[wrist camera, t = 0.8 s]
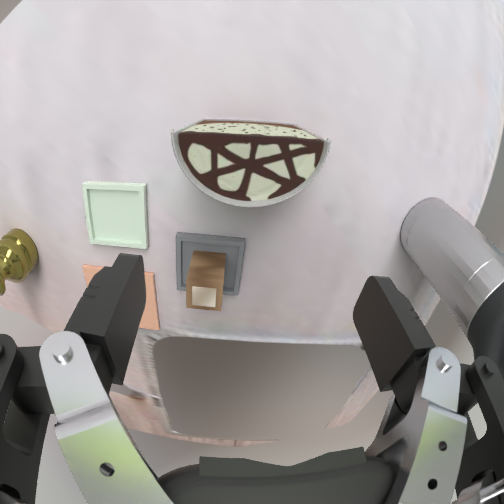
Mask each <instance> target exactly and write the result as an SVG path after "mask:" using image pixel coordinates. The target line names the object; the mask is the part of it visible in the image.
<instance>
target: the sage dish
mask: <svg viewBox="0 0 504 504" xmlns="http://www.w3.org/2000/svg"><path fill="white" fill-rule="evenodd" d="M82 190H83V199H84V207H85V215H86V222H87V228H88V235H89V240H90V243H91V244H101V245H111V246H121V247H131V248H141V249H147V247H148V245H149V241H148V223H147V193H146V183H126V182H91V181H86V182H84V183H83V184H82Z"/></svg>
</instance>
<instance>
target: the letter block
mask: <svg viewBox="0 0 504 504" xmlns="http://www.w3.org/2000/svg"><path fill="white" fill-rule="evenodd" d="M225 258H226V253H218V252H207V251H197V250H194V251H193V254H192V258H191V262H190V266H189V270H188V275H187V279H186V307H187V308H195V309H205V310H216V311H221V307H222V295H223V284H224V271H225Z"/></svg>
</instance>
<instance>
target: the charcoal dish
mask: <svg viewBox="0 0 504 504" xmlns="http://www.w3.org/2000/svg"><path fill="white" fill-rule="evenodd" d="M244 246H245V238H235V237H224V236H214V235H203V234H192V233H181V232H177V235H176V272H177V290H186V279H187V275H188V270H189V266H190V262H191V258H192V254H193V251H194V250H197V251H207V252H218V253H226V258H225V271H224V284H223V294H228V295H238V290H239V283H240V275H241V268H242V261H243V253H244Z"/></svg>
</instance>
